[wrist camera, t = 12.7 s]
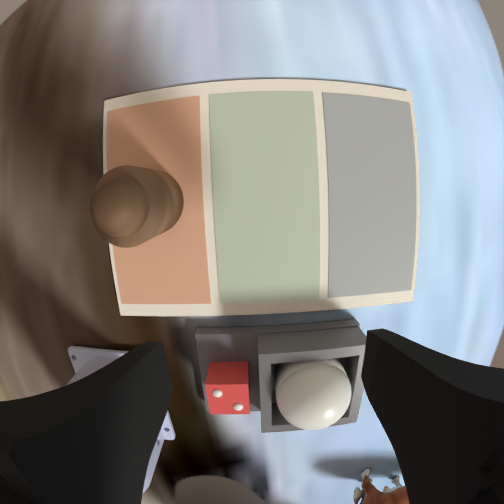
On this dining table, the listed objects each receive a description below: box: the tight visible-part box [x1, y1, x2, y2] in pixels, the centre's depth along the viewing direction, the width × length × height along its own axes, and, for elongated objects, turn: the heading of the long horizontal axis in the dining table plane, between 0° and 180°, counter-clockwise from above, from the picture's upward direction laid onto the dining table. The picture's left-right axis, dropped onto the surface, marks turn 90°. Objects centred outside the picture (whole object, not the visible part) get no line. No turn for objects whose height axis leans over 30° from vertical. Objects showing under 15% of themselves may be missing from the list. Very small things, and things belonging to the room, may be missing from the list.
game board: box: [103, 79, 420, 316], centre depth 17 cm, size 15×21×1 cm
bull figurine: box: [354, 468, 409, 504], centre depth 20 cm, size 4×14×8 cm, turn 67°
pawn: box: [90, 165, 184, 248], centre depth 14 cm, size 4×4×6 cm
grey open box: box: [195, 319, 366, 433], centre depth 18 cm, size 7×11×4 cm, turn 93°
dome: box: [274, 358, 351, 430], centre depth 17 cm, size 5×5×5 cm
